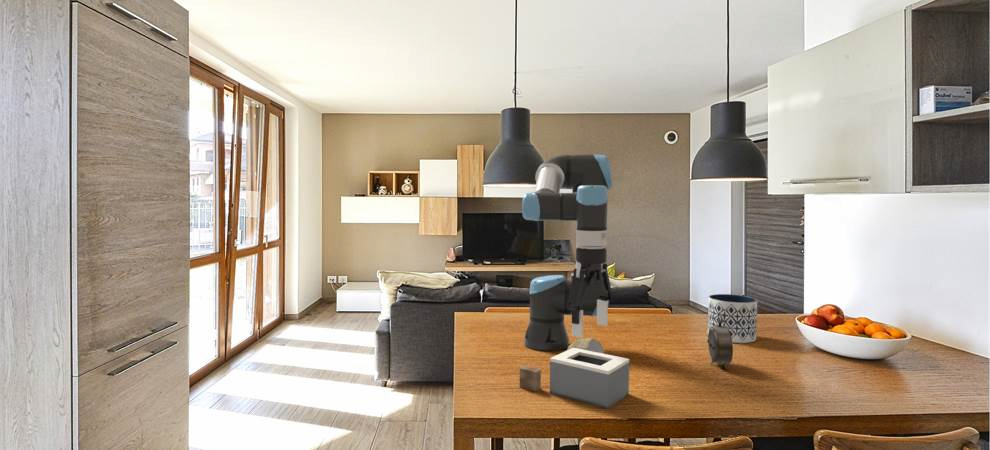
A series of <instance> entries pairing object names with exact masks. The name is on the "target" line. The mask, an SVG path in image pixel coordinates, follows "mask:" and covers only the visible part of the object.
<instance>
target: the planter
mask: <svg viewBox="0 0 990 450" xmlns="http://www.w3.org/2000/svg"><path fill="white" fill-rule="evenodd" d="M707 305H708V307H707V308H708V312H707V313H708V314H707V334H708V333H709V329H710V328H711V327H712V326H718V324H719V323H718V322H719V321H721V314H720V313H719V312H721V313H722V323H721V325H722V326H727V327H728V329H729V331H730V334H731V338H732V344H749V343H753V342H755V341H756V340H757V327H758V326H757V324H758V323H757V322H758V300H757V299H756V298H754V297H751V296H747V295H740V294H731V293H730V294H729V293H722V294H721V293H719V294H718V293H716V294H711V295H710V294H709V296H708V304H707ZM718 313H719V321H718Z"/></svg>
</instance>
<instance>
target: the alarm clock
mask: <svg viewBox="0 0 990 450" xmlns="http://www.w3.org/2000/svg"><path fill="white" fill-rule="evenodd" d="M719 313H720V314H721V321H719ZM719 313H718V321H719V322H718V323H719V324H718V326H712V327H711V328H710V329H709V333H708V332H707V341H706V342H707V346H708V352H709V355H710V358H711V361H710V362H711V363H710V366H711V365H713V363H715V364H719V365H720V364H722V365H723V366H724V370H725V371H726V372H727V371H728V364H729V365H730V364H731V363H732V361H733V356H734V354H733V352H734V345H733V343H732V338H731V334H730V331H729V329H728V327H727V326H722V325H721V323H722V313H721V312H719Z"/></svg>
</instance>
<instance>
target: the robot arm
mask: <svg viewBox="0 0 990 450" xmlns="http://www.w3.org/2000/svg"><path fill="white" fill-rule="evenodd" d="M534 177H535V178H534V179H535V182H536V183H535V187H534V190H533V192H525V193H524V194H523V195H522V202H521V204H522V206H521V213H522V217H523V220H524V219H525V220H526V221H535V222H538V221H540V222H541V221H549V222H550V221H553V222H555V221H556V222H557V221H563V222H569V221H571V222H575V223H576V225H575V226H576V228H575V229H576V230H575V231H576V232H575V233H576V234H575V236H576V239H575V250H576V251H575V268H573V272H572V273H571V275H570V276H571V277H570V279H569V280H568V279H566V278H565V276H564V275H561V274H555V275H554V274H553V275H552V274H551V275H544V276H538V277H535V278H533V279H532V280H531V281H530V285H529V293H528V294H529V322H528V325H527V329H526V331H525V334H524V338H523V339H524V340H523V344H524V346H525V347H527V348H528V349H529V348H530V349H533V350H538V351H546V352H547V351H561V350H565V349H568V346H569V345H570V338H569V335H568V331H567V328H566V325H565V316H571V335H570V336H571V337H576V338H579V339H581V338H584V317H585V316H587V317H592V318H593V317H596V325H598V326H605V327H607V326H608V316H609V315H608V313H609V312H608V311H609V310H608V308H609V304H610V301H612V299H613V297H612V296H613V291H612V287H611V286H612V282H611V281H610V278H609V273H608V272H609V271H608V264H607V248H606V246H607V244H608V243H607V239H608V238H609V236H608V233H607V232H608V231H607V230H608V225H607V223H608V201H609V197H608V190H611V189H612V185H613V184H612V171H611V165H610V160H609V158H608V157H607V156H606V155H604V154H603V155H602V154H595V153H593V154H560V155H557V156H554V157H551V158H549V159H547V160H546V161H544V162H543V163H541V164H540V165H539V166H538V167H537V170H536V171H535V176H534ZM561 190H572V192H561Z"/></svg>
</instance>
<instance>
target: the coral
mask: <svg viewBox="0 0 990 450" xmlns="http://www.w3.org/2000/svg"><path fill="white" fill-rule="evenodd" d="M571 348H578V349H583V350H588V351H593V352H598V353H602V354H605V353H604V348H603V346H602V344H601V342H600V341H598V340H597V339H595V338H594V337H593V338H592V337H588V338H585V337H582V338H577V339H576V340H575V341H572V343H571V344H569V346H568V347H567V348H566V349H567V350H569V349H571ZM567 350H566V351H567Z"/></svg>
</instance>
